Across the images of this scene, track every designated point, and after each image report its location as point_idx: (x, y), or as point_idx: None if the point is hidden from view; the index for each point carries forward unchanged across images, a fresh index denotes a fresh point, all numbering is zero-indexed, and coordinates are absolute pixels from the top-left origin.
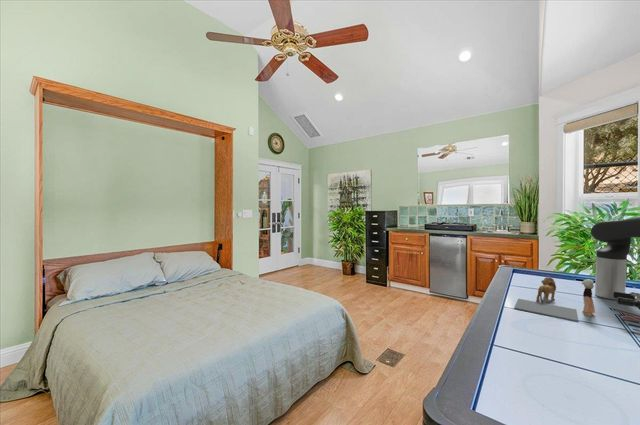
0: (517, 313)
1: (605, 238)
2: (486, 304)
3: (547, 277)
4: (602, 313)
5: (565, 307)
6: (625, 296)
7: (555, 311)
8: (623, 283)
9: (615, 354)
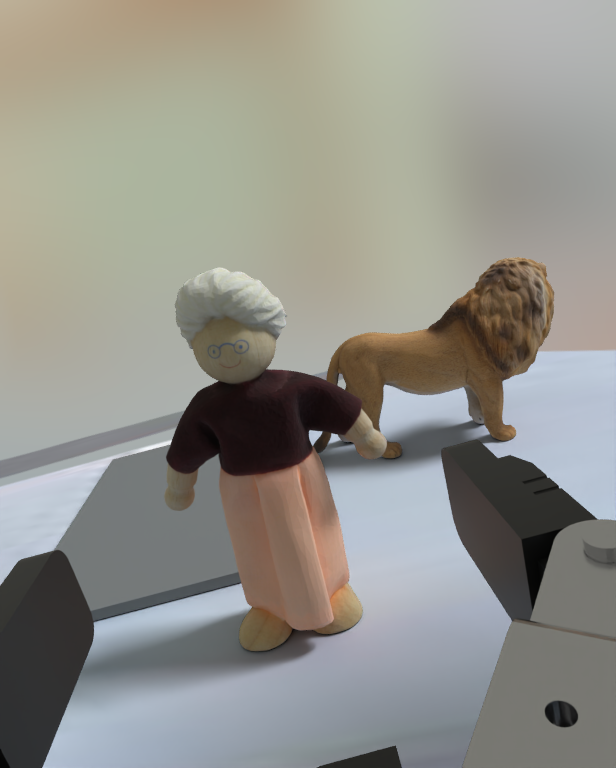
0: (44, 492)
1: None
2: (122, 429)
3: (496, 263)
4: (464, 674)
5: None
6: (510, 570)
7: (159, 525)
8: None
9: None
